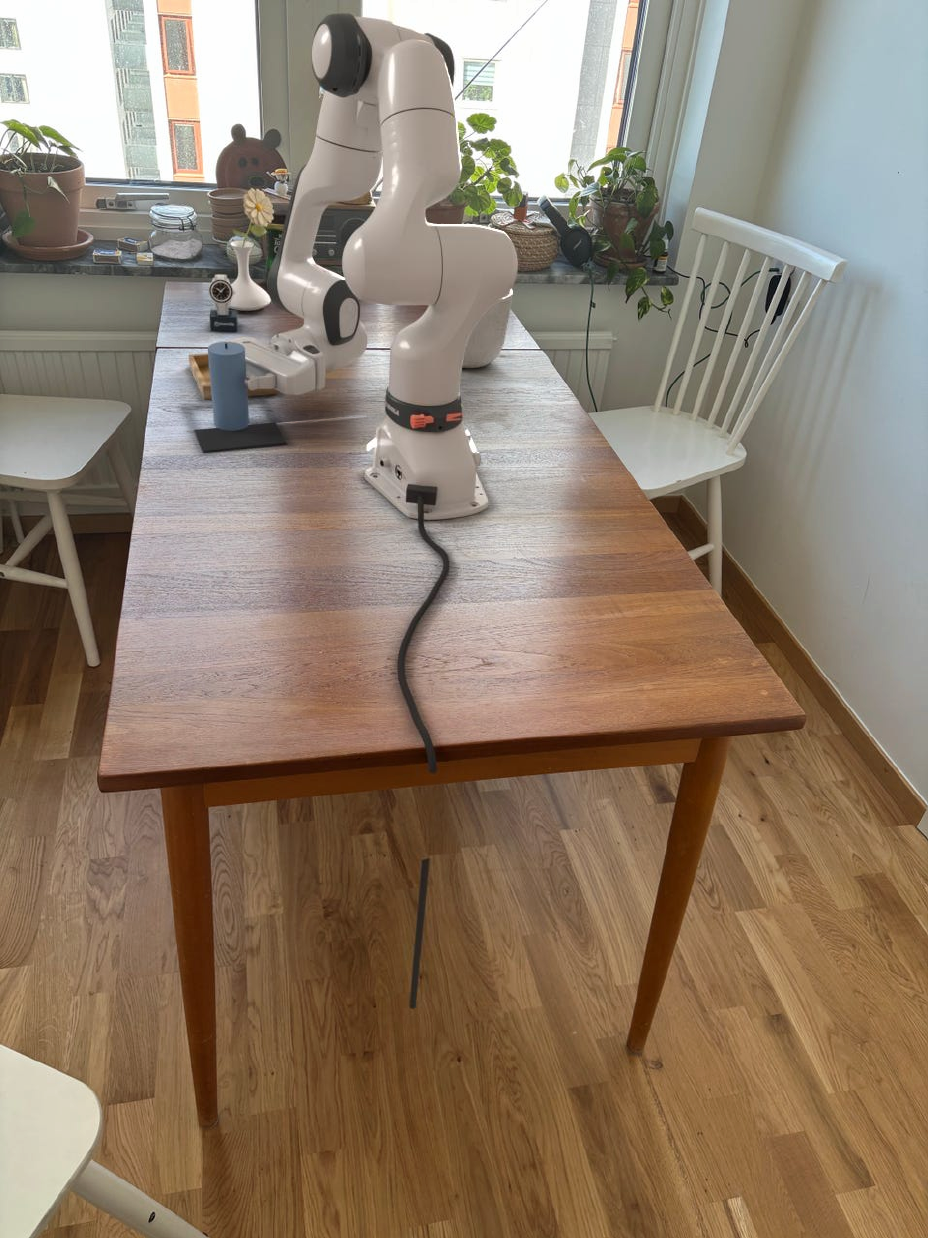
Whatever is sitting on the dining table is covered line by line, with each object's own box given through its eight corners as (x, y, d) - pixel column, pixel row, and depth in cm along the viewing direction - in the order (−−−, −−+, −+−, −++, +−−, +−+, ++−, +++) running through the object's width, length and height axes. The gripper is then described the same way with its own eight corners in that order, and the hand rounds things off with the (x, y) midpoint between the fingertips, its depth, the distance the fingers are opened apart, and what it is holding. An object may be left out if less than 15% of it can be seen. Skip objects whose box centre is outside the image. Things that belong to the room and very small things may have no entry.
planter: (441, 340, 205) (446, 269, 196) (515, 355, 201) (523, 284, 192) (412, 365, 192) (416, 290, 183) (490, 382, 188) (498, 307, 179)
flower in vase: (231, 317, 206) (223, 196, 191) (212, 301, 213) (203, 183, 198) (285, 311, 212) (282, 193, 197) (265, 295, 219) (260, 181, 205)
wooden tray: (278, 395, 175) (277, 380, 173) (204, 401, 170) (202, 386, 168) (259, 364, 186) (258, 350, 184) (189, 369, 181) (188, 354, 179)
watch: (210, 334, 197) (206, 281, 190) (212, 321, 203) (208, 269, 196) (237, 335, 198) (234, 282, 191) (238, 321, 204) (235, 270, 197)
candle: (252, 429, 161) (248, 348, 153) (217, 432, 159) (210, 351, 151) (245, 414, 166) (240, 335, 157) (211, 417, 164) (204, 337, 155)
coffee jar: (264, 289, 223) (261, 206, 212) (266, 279, 229) (263, 198, 218) (305, 291, 224) (304, 209, 213) (306, 280, 231) (305, 200, 220)
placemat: (286, 444, 159) (286, 442, 158) (203, 452, 154) (202, 450, 154) (263, 401, 172) (263, 399, 172) (185, 408, 167) (185, 406, 167)
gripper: (252, 323, 169) (189, 339, 160) (330, 356, 159) (267, 376, 150) (254, 357, 173) (192, 374, 164) (330, 391, 163) (269, 412, 154)
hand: (229, 375), depth 157 cm, fingers open, 8 cm apart
